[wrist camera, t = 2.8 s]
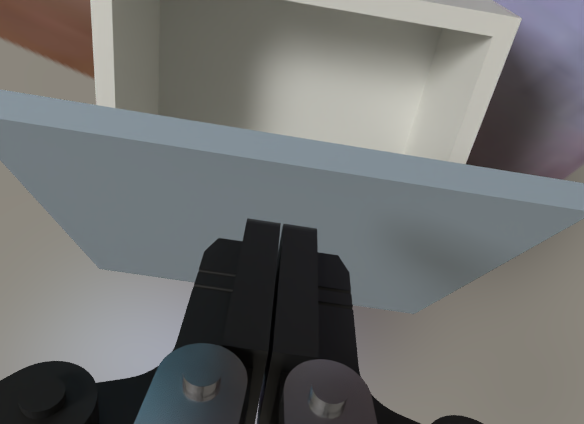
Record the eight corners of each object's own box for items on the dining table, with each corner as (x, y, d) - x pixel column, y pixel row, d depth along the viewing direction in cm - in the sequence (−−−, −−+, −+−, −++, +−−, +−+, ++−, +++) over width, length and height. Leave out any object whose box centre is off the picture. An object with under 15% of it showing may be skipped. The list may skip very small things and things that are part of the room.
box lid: (-32, 84, 12) (-44, 111, 12) (591, 184, 13) (594, 212, 13) (103, 253, 25) (99, 268, 25) (414, 298, 26) (414, 313, 26)
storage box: (148, -73, 25) (87, -59, 18) (467, -16, 25) (522, 18, 19) (147, 177, 32) (104, 252, 25) (393, 214, 33) (414, 297, 26)
